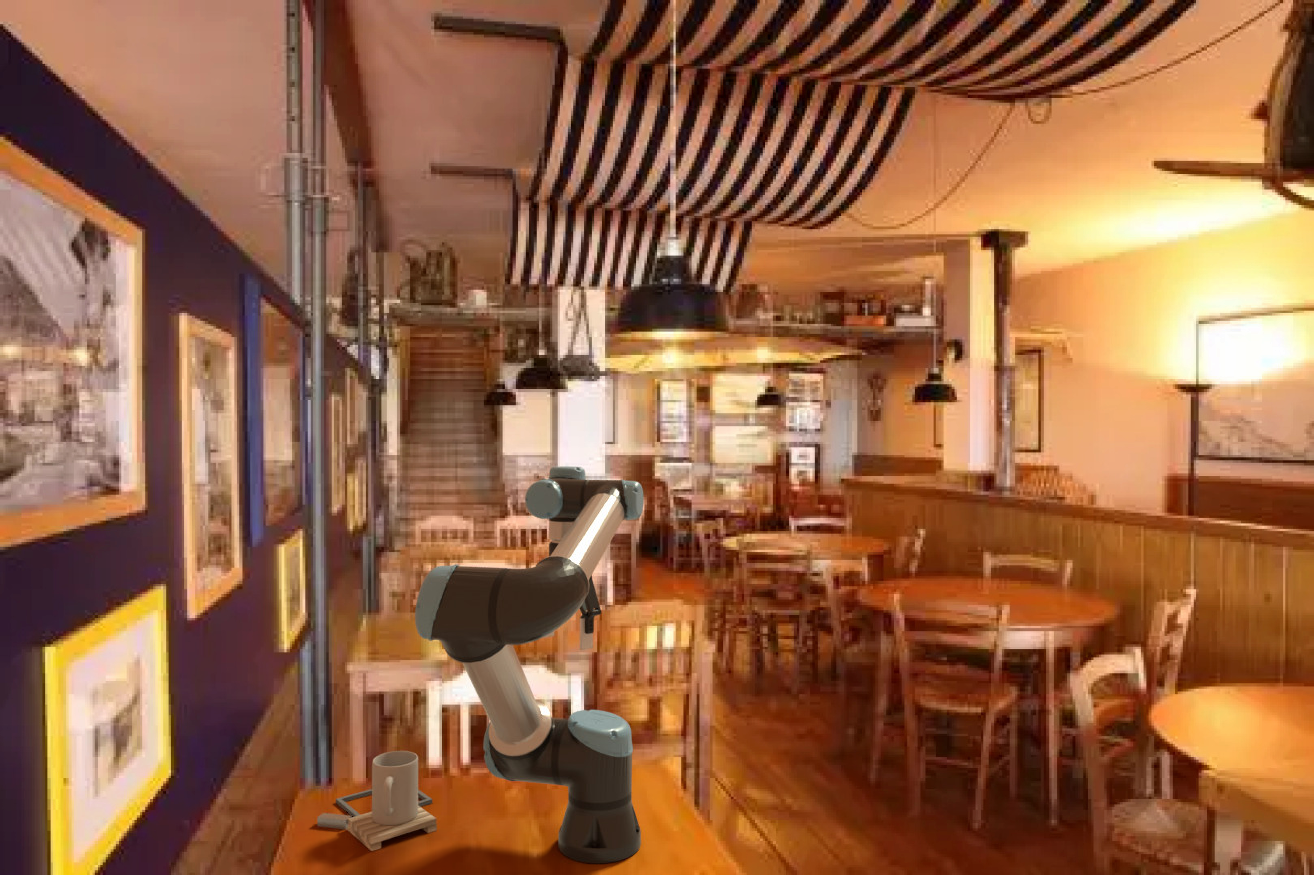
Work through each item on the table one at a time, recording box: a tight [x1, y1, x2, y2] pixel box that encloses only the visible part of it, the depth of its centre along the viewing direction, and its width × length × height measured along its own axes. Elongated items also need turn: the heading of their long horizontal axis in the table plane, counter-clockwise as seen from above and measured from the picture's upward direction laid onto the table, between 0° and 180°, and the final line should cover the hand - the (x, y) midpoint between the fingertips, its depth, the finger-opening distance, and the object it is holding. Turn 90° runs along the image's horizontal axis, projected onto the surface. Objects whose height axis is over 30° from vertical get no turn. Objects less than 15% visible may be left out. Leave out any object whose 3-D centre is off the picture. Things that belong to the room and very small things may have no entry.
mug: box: [371, 750, 419, 826], centre depth 167 cm, size 12×8×11 cm
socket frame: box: [335, 788, 433, 817], centre depth 180 cm, size 13×15×1 cm
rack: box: [346, 806, 438, 852], centre depth 168 cm, size 11×13×2 cm
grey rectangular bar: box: [316, 812, 352, 830], centre depth 170 cm, size 6×2×2 cm, turn 78°
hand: (566, 642), depth 184 cm, fingers open, 13 cm apart
